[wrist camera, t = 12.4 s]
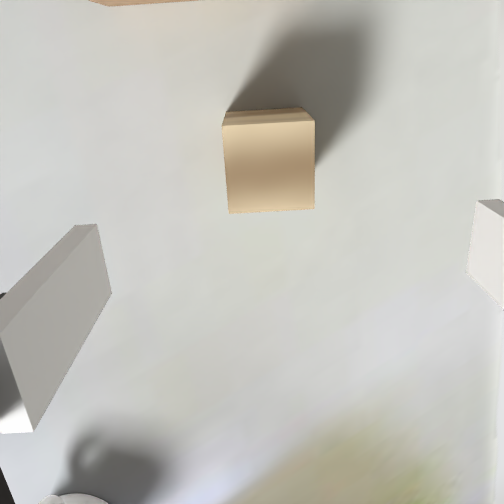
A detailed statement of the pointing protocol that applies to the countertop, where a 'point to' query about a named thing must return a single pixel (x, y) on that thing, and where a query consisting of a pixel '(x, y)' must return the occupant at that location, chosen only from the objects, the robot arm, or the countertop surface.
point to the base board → (133, 2)
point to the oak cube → (269, 160)
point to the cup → (72, 499)
